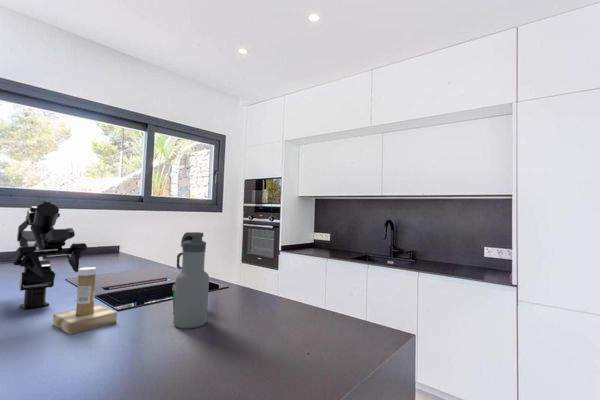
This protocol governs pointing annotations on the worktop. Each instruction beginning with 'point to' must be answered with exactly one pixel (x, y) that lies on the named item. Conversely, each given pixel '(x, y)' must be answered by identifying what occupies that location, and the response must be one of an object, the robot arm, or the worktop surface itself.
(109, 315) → the oak stand
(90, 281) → the sprinkles bottle
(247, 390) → the worktop surface
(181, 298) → the water bottle
